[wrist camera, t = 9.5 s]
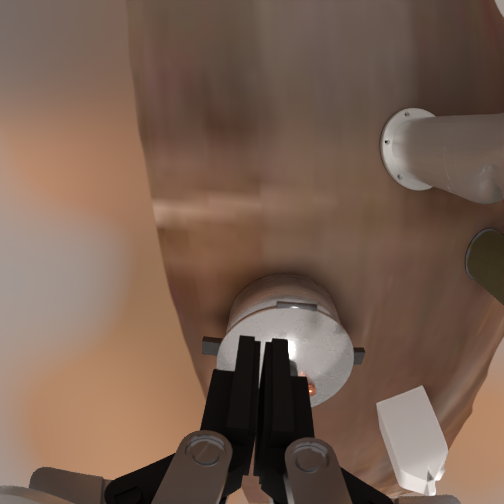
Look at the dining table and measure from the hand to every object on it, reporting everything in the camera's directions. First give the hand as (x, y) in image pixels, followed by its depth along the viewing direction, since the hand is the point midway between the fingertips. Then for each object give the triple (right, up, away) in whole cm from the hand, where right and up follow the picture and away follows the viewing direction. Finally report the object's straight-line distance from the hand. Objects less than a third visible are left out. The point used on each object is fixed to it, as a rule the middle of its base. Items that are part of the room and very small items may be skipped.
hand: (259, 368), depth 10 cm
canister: (+43, +4, +34) cm, 55 cm away
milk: (+35, -33, +48) cm, 68 cm away
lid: (+4, -11, +30) cm, 32 cm away
